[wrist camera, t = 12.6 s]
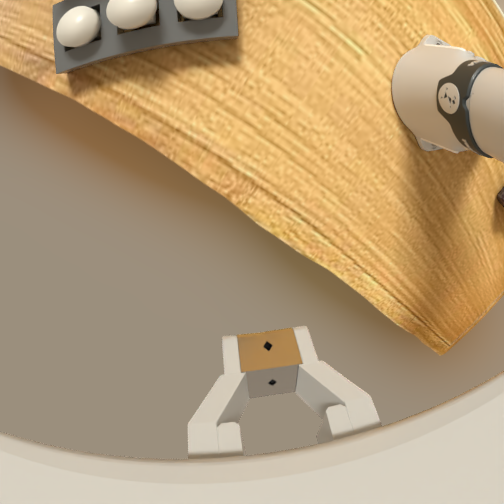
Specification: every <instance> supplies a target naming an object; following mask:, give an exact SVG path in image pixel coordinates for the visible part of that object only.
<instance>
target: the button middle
mask: <svg viewBox="0 0 504 504" xmlns="http://www.w3.org/2000/svg"><path fill="white" fill-rule="evenodd" d="M156 10H157V0H110V1H109V2H108V5H107V9H106V14H107V18H108V20H109V21H110V22H111V23H112V24H113V25H115V26H118V28H121V29H123V30H129V29H136V28H139V27H141V26H146V25H151V24H156Z"/></svg>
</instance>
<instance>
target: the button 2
mask: <svg viewBox="0 0 504 504" xmlns="http://www.w3.org/2000/svg"><path fill="white" fill-rule="evenodd" d="M174 4H175V6H176V8H177V10H178V12H179V13H180V14H181V15H182V16H183V18H184V20H185V21H188V20H203V19H207V18H216V17H217V14H218V11H219V10H220V8H221V6H222V4H223V0H174Z"/></svg>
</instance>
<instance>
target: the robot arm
mask: <svg viewBox="0 0 504 504" xmlns="http://www.w3.org/2000/svg"><path fill="white" fill-rule="evenodd" d="M436 44H437V45H436ZM392 96H393V101H394V105H395V108H396V110H397V113H398V115H399V117H400V118H401V120H402V121H403V123H404V124H405V125H406V126H407V127H408V128H409V129H410V130H411V131H412V132H413V133H414V135H415V137H416V139H417V142H418V144H419V146H420V148H421V149H422V150H425V151H433V150H439V149H446V150H448V151H451V152H453V153H459V151H460V152H461V151H467V150H471V151H473V152H474V153H476V154H479V155H481V156H482V155H483V156H485V157H487V158H495V159H497V160H499V161H501V162H503V163H504V69H503V68H502V67H500V66H499V65H497V64H493V63H491V62H488V61H486V60H485V59H483V58H481V57H478V56H474V53H472V52H470V51H466V50H465V49H463V48H459V47H452V46H451V45H449V44H447V43H446V42H444V41H442V40H440V39H439V38H437V37H435V36H433V35H426V36H424V37H423V39H422V40H421V42H420V43H419V45H418V46H417V47H415V48H413V49H411V50H410V51H408V52H407V53H405V54H404V55H403V56H402V57H401V59H400V60H399V62H398V63H397V65H396V68H395V70H394V74H393V79H392ZM222 344H223V357H224V358H223V359H224V372H225V374H224V375H220V376H219V378H218V380H217V381H216V383H215V384H214V386H213V387H212V389H211V390H210V392H209V393H208V395H207V396H206V398H205V399H204V401H203V402H202V404H201V405H200V407H199V408H198V410H197V411H196V413H195V414H194V416H193V417H192V419H191V420H190V422H189V423H188V459H152V458H134V457H122V456H113V455H104V454H96V453H89V452H83V451H77V450H71V449H66V448H61V447H56V446H52V445H47V444H43V443H39V442H35V441H31V440H27V439H24V438H20V437H17V436H14V435H10V434H7V433H4V432H1V431H0V504H504V371H503V372H501V373H499V374H498V375H496V376H494V377H493V378H491V379H489V380H487V381H485V382H484V383H482V384H480V385H478V386H476V387H474V388H473V389H470V390H469V391H467V392H465V393H463V394H461V395H459V396H457V397H454V398H452V399H450V400H448V401H446V402H444V403H442V404H439V405H437V406H435V407H433V408H430V409H428V410H425V411H423V412H420V413H418V414H415V415H413V416H410V417H407V418H405V419H402V420H399V421H397V422H394V423H391V424H388V425H385V426H382V425H381V422H380V420H379V417H378V414H377V412H376V409H375V407H374V404H373V401H372V399H371V396H370V395H368V394H367V393H366V392H364V391H363V390H362V389H360V388H359V387H358V386H356V385H355V384H354V383H352V382H351V381H349V380H348V379H347V378H345V377H344V376H343V375H341V374H340V373H339V372H337V371H336V370H334V369H333V368H332V367H331V366H329V365H328V364H327V363H325V362H324V361H319V360H318V358H317V354H316V351H315V348H314V345H313V342H312V339H311V337H310V334H309V331H308V328H307V327H306V326H300V327H294V328H286V329H279V330H273V331H266V332H262V333H251V334H241V335H231V336H223V338H222ZM290 392H295V393H296V394H297V395H298V396H299V397H300V398H301V399H302V400H303V401H304V402H305V403H306V404H307V405H308V406H309V407H310V408H311V409H312V410H313V411H315V413H316V414H317V415H318V416H319V417H321V418H322V419H323V420H322V423H321V426H320V428H319V431H318V433H317V436H316V437H317V441H318V444H316V445H311V446H306V447H301V448H295V449H290V450H284V451H277V452H270V453H263V454H255V455H246V452H245V447H244V442H243V439H242V434H241V430H240V426H239V424H238V422H239V420H240V418H241V416H242V414H243V412H244V410H245V408H246V406H247V404H248V402H249V398H256V397H262V396H269V395H275V394H283V393H290Z"/></svg>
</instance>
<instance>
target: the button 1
mask: <svg viewBox="0 0 504 504" xmlns="http://www.w3.org/2000/svg"><path fill="white" fill-rule="evenodd" d="M56 35H57V39H58V41H59V42H60V43H61V44H62V45H64V46H67V47H82V46H85V45H87V44H88V43H91V42H94V41H97V40H101V17H100V11H98V10H94V9H91V8H89V7H86V6H78V7H75V8H72V9H71V10H69V11H68V12H67V13H65V14H64V15H63V17H62V18H61V19H60V21H59V23H58V26H57V30H56Z"/></svg>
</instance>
